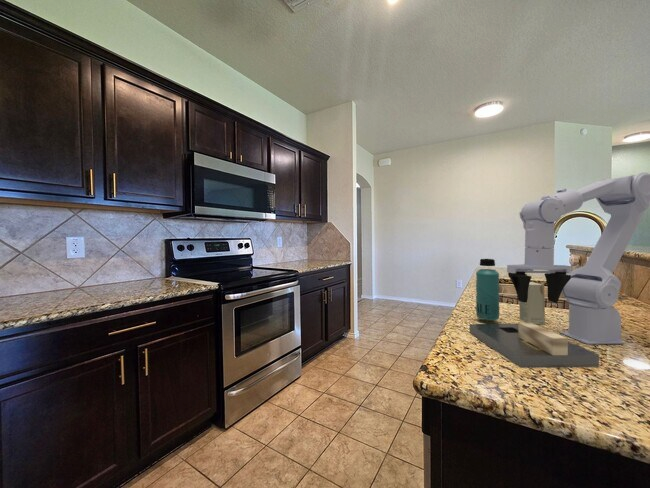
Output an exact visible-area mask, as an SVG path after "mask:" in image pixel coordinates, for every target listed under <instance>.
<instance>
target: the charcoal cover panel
mask: <svg viewBox="0 0 650 488" xmlns="http://www.w3.org/2000/svg"><path fill="white" fill-rule="evenodd" d="M469 334H470V335H472V336H474V338H477V339H478V340H479V341H480V342H482V343H484V344H485V345H487V346H488V347H490V348H491V349H493V350H494V351H496V352H497V353H499V354H500V355H501V356H503V357H504V358H506V359H507V360H509V361H510V362H512V363H514V364H515V365H516V366H517V367H519V368H584V367H585V368H586V367H587V368H588V367H589V368H590V367H592V368H595V367H600V355H599V354H597V353H596V352H593V351H591V350H590V349H586V348H584V347H582V346H579V345H578V344H575V343H572V342H570V341H568V355H551V354H549V353H548V352H546V351H544V350H542V349H538V348H536V347H534V345H532V344H531V343H529V342H527V341H525V340H523V339H521V338H519V337H518V323H469Z"/></svg>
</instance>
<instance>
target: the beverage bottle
mask: <svg viewBox="0 0 650 488" xmlns="http://www.w3.org/2000/svg"><path fill="white" fill-rule="evenodd" d="M479 266H482V267H495V266H496V261H495V259H493V258H481V259H480V261H479ZM475 275H476V277H475V278H476V279H475V281H476V282H475V290H476V291H475V293H476V295H475V301H476V302H475V313H476V314H475V315H476V317H477V318H479V319H481V320H488V321H497V320H499V319H500V313H501V312H500V295H499V294H500V292H499V291H500V273H499V272H498V271H497V270H496V269H492V268H481V269H478V270H477V271H476V272H475Z"/></svg>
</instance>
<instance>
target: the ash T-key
mask: <svg viewBox="0 0 650 488" xmlns="http://www.w3.org/2000/svg"><path fill="white" fill-rule="evenodd" d="M517 324H518V337H519V338H521V339H523V340H525V341H527V342H529V343H531V344H532V345H534V347H536V348H538V349H542V350H544V351H546V352H548V353H549V354H551V355H568V342H569V338H568V337H566V336H565V335H564V336H563V335H562V334H560V333H557V332H554V331H552V330H549V329H547V328H544V327H542V326H540V325H539V324H533V323H527V322H518V323H517Z"/></svg>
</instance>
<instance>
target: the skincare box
mask: <svg viewBox="0 0 650 488" xmlns="http://www.w3.org/2000/svg"><path fill="white" fill-rule="evenodd" d="M545 302H546V301H545V284H543V283H537V282H534V281H530V283H529V287H528V299H527V302H521V301H519V303H518V306H519V308H518V309H519V320H520V321H523V322H524V323H533V324H535V325H538V326H540V325H541V326H542V325H543V326H544V325H546V320H545V319H546V317H545V310H546V309H545V307H546V305H545Z"/></svg>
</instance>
